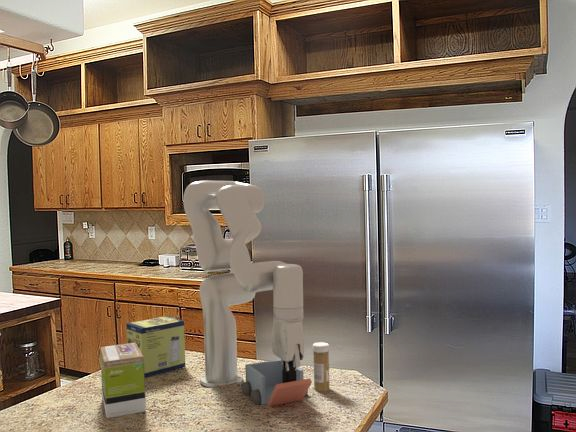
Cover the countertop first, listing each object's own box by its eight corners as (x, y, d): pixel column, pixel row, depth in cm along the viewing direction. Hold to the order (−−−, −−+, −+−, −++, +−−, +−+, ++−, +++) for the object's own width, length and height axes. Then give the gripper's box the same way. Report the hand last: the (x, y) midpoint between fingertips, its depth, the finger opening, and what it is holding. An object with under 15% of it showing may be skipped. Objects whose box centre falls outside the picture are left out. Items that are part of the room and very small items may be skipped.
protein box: (126, 371, 169) (125, 323, 169) (169, 360, 180) (168, 315, 179) (142, 379, 161) (140, 328, 161) (186, 367, 172) (185, 319, 171)
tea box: (101, 399, 145) (99, 345, 145) (138, 393, 149) (137, 341, 149) (105, 419, 131) (103, 360, 131) (146, 412, 135) (145, 354, 135)
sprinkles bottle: (333, 392, 146) (332, 344, 146) (320, 396, 144) (319, 346, 143) (323, 387, 150) (322, 340, 150) (310, 391, 147) (309, 343, 147)
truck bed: (241, 394, 146) (240, 365, 146) (289, 385, 153) (289, 357, 152) (257, 409, 136) (256, 378, 135) (308, 398, 142) (308, 369, 142)
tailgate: (267, 403, 136) (276, 384, 131) (300, 396, 140) (310, 378, 135) (268, 407, 135) (277, 388, 130) (301, 400, 139) (311, 382, 134)
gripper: (263, 309, 139) (264, 378, 140) (287, 320, 126) (288, 397, 126) (289, 306, 142) (290, 374, 143) (315, 317, 129) (316, 392, 129)
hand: (289, 384), depth 134 cm, fingers closed
